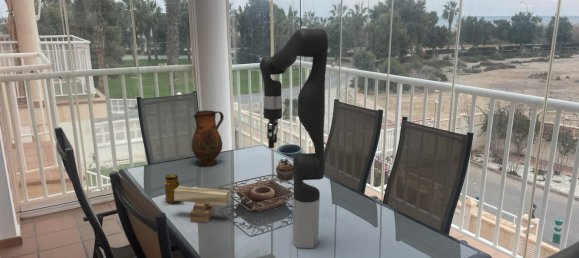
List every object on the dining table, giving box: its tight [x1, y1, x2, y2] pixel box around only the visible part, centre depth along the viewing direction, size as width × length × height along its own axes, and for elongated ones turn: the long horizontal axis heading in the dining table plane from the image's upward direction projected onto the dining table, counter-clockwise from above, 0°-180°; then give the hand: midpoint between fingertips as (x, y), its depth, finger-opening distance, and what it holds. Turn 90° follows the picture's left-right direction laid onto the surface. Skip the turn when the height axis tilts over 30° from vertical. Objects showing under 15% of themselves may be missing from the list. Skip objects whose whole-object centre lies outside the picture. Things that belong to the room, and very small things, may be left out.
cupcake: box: [275, 158, 294, 182], centre depth 220 cm, size 10×10×10 cm
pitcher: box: [190, 110, 224, 168], centre depth 241 cm, size 17×21×30 cm
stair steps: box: [189, 202, 215, 224], centre depth 174 cm, size 10×7×7 cm
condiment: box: [163, 173, 185, 206], centre depth 189 cm, size 7×8×12 cm
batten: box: [174, 185, 231, 206], centre depth 173 cm, size 4×22×4 cm, turn 78°
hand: (272, 145), depth 177 cm, fingers open, 8 cm apart
